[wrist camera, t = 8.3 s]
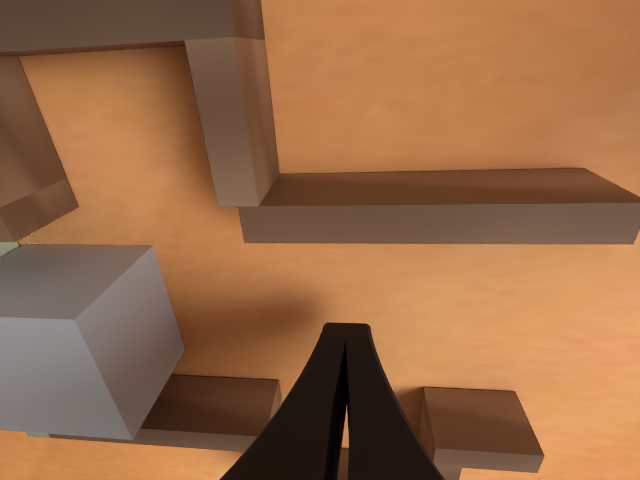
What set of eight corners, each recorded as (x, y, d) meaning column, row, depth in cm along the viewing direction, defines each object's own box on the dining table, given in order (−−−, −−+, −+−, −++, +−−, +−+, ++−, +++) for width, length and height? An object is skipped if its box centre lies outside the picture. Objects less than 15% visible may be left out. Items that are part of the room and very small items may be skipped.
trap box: (490, 471, 16) (510, 536, 14) (104, 443, 19) (70, 495, 16) (648, -39, 7) (767, -76, 5) (-129, 23, 10) (-272, 15, 7)
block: (186, 347, 15) (132, 440, 11) (77, 342, 15) (-6, 429, 12) (154, 243, 12) (74, 319, 9) (27, 242, 13) (-96, 313, 9)
